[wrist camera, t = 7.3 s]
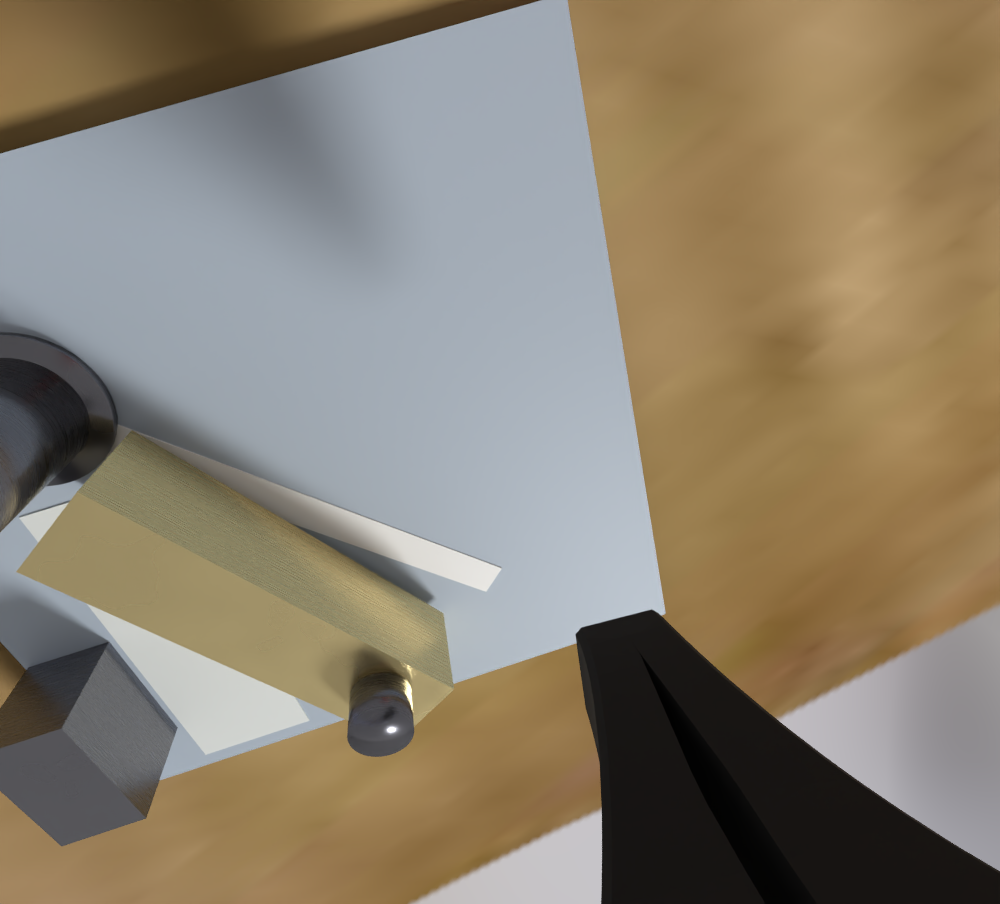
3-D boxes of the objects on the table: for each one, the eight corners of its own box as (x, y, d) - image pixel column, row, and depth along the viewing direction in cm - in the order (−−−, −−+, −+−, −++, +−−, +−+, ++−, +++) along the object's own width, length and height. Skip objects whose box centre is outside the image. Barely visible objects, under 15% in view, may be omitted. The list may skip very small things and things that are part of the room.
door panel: (140, 774, 21) (134, 789, 20) (-329, 250, 12) (-359, 254, 12) (659, 604, 22) (665, 614, 21) (559, -2, 13) (566, -8, 12)
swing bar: (79, 498, 15) (-18, 611, 11) (132, 429, 15) (47, 525, 11) (394, 661, 19) (397, 782, 16) (443, 613, 19) (458, 727, 15)
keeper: (105, 751, 19) (61, 846, 17) (28, 667, 17) (-35, 759, 15) (177, 727, 19) (145, 818, 17) (109, 641, 18) (61, 728, 15)
